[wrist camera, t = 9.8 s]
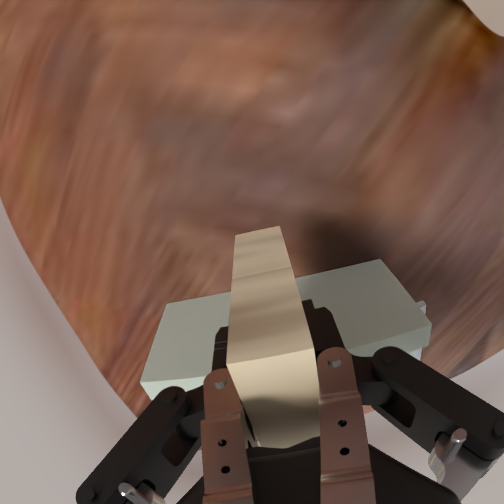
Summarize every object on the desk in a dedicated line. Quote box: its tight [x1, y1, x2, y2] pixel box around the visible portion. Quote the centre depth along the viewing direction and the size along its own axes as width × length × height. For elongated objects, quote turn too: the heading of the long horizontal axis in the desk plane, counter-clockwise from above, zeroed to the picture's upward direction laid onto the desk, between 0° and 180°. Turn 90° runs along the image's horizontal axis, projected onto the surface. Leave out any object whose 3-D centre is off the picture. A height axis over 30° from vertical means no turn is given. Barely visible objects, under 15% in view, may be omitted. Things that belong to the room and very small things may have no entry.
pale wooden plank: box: [226, 226, 320, 448], centre depth 17 cm, size 18×2×10 cm, turn 13°
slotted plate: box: [140, 259, 432, 400], centre depth 23 cm, size 20×2×10 cm, turn 103°
